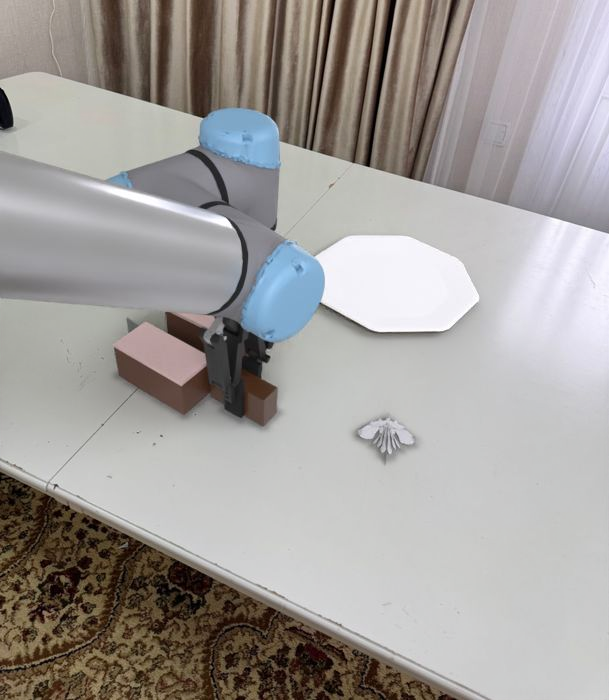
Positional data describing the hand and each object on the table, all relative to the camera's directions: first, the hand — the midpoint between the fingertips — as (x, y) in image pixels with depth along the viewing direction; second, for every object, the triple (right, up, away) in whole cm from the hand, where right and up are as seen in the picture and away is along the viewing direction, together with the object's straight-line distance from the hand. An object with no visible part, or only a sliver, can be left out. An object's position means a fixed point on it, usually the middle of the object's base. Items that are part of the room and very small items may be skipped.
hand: (243, 403), depth 83 cm
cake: (-4, +9, +10) cm, 14 cm away
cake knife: (-7, +3, +3) cm, 8 cm away
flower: (+19, -5, -3) cm, 20 cm away
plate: (+23, +18, +23) cm, 38 cm away
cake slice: (-11, +3, +2) cm, 11 cm away
